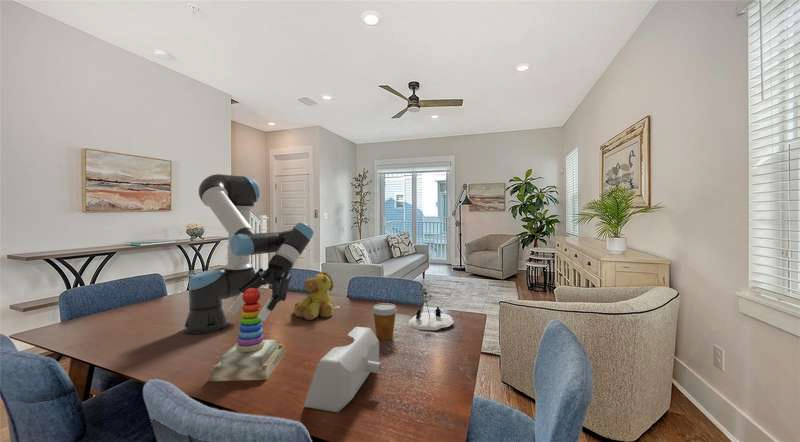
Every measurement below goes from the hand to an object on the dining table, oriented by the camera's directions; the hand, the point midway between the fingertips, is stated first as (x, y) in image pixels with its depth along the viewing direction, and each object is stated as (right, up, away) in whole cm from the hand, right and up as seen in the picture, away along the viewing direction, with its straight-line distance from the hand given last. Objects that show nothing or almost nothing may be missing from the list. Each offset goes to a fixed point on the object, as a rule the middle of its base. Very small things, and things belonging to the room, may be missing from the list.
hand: (245, 315), depth 96 cm
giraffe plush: (+7, -15, +55) cm, 57 cm away
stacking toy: (+1, -11, +2) cm, 11 cm away
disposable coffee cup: (+42, -16, +25) cm, 51 cm away
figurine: (+61, -16, +40) cm, 74 cm away
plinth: (+1, -17, +2) cm, 17 cm away
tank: (+34, -17, -9) cm, 39 cm away
